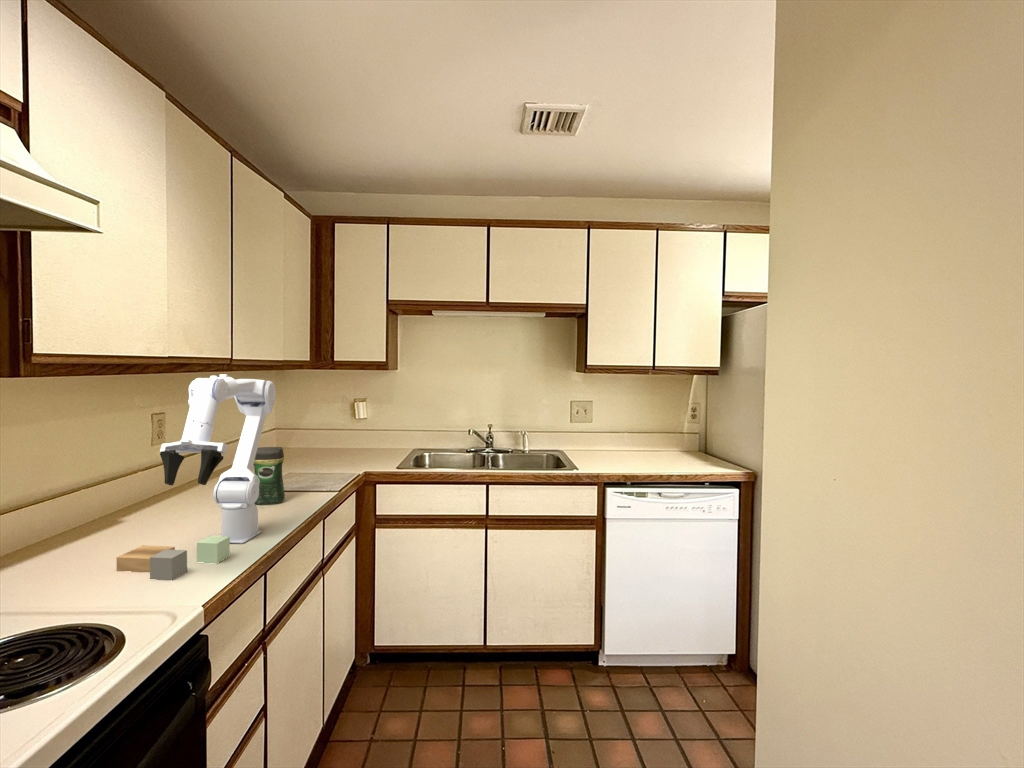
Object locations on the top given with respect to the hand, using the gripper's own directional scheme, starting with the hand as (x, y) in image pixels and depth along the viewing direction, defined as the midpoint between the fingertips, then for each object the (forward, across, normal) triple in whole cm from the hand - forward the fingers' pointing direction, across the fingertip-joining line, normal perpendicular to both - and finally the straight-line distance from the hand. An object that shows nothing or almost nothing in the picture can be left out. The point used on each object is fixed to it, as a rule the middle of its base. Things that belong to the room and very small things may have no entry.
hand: (185, 484), depth 122 cm
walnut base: (+16, -13, +12) cm, 24 cm away
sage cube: (+15, 0, +17) cm, 22 cm away
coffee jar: (-8, -13, +63) cm, 64 cm away
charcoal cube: (+19, -4, +8) cm, 21 cm away
